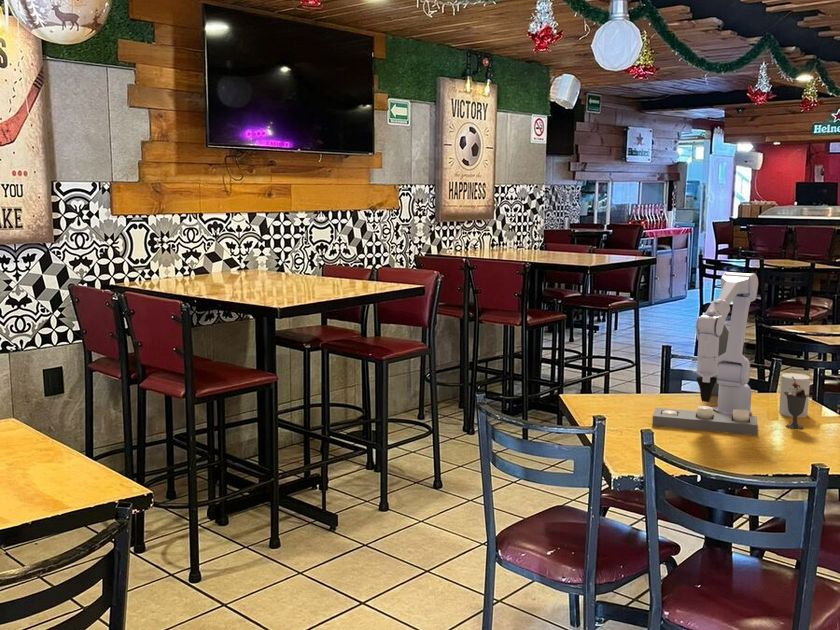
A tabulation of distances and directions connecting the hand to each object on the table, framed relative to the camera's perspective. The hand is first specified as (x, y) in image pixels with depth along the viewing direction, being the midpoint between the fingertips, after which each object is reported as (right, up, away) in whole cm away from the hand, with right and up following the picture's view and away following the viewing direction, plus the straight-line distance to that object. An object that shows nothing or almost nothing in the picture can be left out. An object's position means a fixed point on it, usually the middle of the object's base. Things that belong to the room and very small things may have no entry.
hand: (705, 401), depth 246 cm
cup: (+33, -6, +15) cm, 36 cm away
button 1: (-9, -7, +5) cm, 12 cm away
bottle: (+18, -2, +40) cm, 44 cm away
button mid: (0, -5, +1) cm, 5 cm away
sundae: (+26, -8, 0) cm, 27 cm away
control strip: (0, -8, +1) cm, 8 cm away
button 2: (+9, -6, -3) cm, 11 cm away
